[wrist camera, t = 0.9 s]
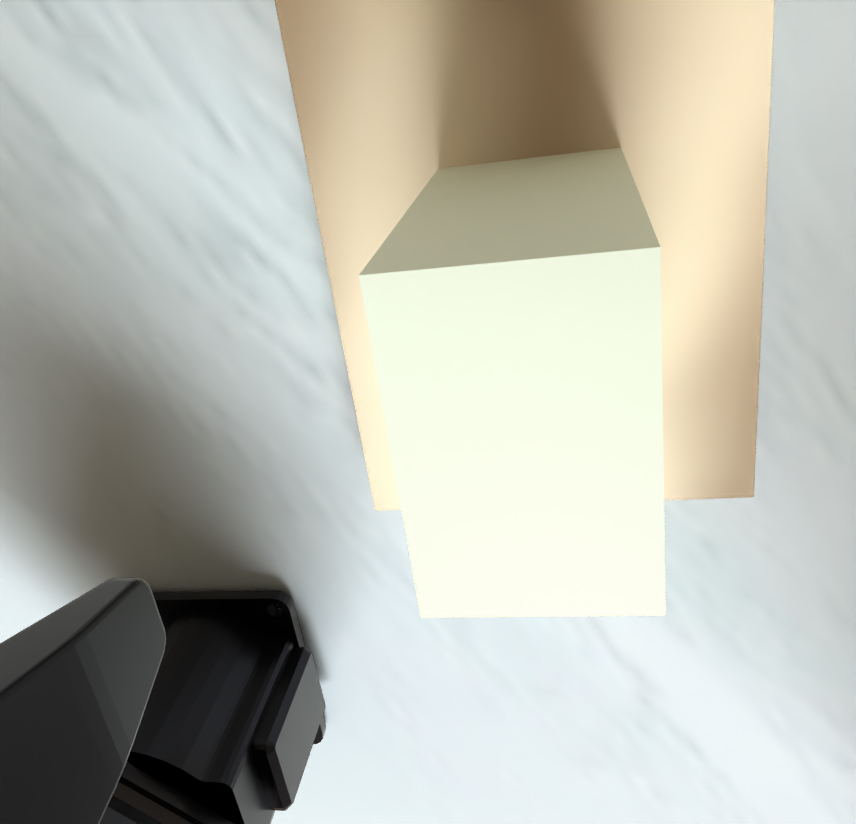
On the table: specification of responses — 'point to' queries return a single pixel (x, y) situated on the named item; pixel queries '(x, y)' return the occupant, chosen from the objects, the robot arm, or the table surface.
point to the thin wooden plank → (553, 135)
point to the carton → (525, 388)
